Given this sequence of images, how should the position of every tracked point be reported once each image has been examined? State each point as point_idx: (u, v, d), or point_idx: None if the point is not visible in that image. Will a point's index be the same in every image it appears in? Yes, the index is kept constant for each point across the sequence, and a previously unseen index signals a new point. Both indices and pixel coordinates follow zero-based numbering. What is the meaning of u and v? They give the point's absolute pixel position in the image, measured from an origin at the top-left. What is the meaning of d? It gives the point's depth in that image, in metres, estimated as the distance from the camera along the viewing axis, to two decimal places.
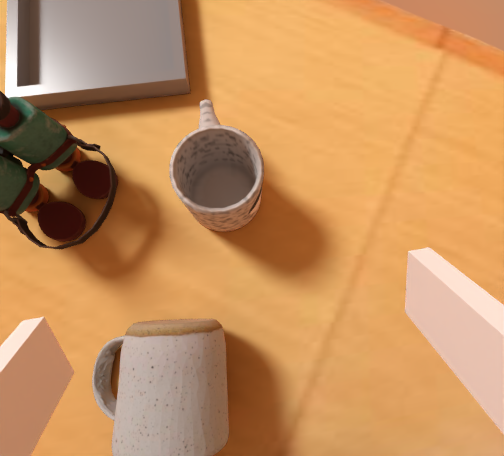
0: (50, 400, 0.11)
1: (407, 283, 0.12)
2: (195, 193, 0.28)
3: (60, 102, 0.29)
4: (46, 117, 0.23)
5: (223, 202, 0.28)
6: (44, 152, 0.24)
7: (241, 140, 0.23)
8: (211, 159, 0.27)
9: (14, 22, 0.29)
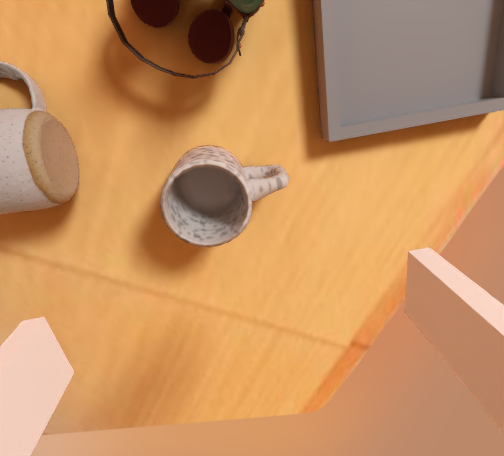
0: (50, 401, 0.11)
1: (407, 283, 0.12)
2: None
3: None
4: (252, 3, 0.18)
5: (199, 184, 0.28)
6: None
7: (239, 223, 0.24)
8: None
9: None
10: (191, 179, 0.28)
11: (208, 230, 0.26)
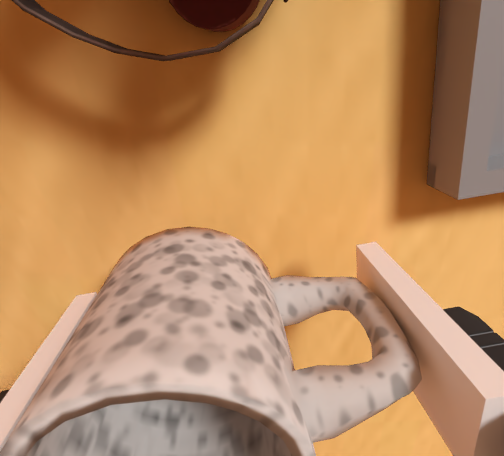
0: None
1: (358, 275, 0.13)
2: None
3: None
4: None
5: None
6: None
7: None
8: None
9: None
10: None
11: None
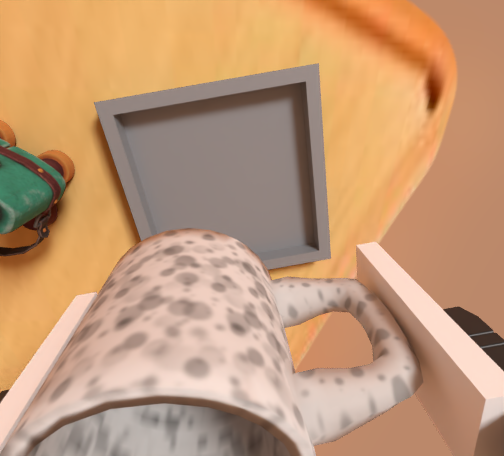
0: None
1: (358, 275, 0.13)
2: None
3: None
4: (20, 225, 0.20)
5: None
6: None
7: None
8: None
9: (205, 94, 0.22)
10: None
11: None
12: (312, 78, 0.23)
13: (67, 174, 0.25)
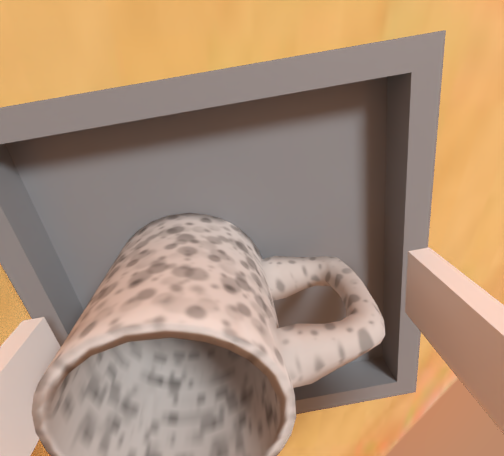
0: None
1: (407, 283, 0.12)
2: None
3: None
4: None
5: None
6: None
7: (259, 439, 0.09)
8: None
9: (182, 103, 0.10)
10: None
11: (184, 421, 0.11)
12: (426, 65, 0.10)
13: None
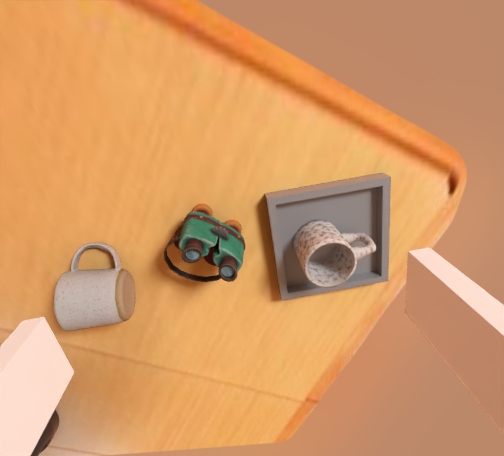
0: (50, 401, 0.11)
1: (407, 283, 0.12)
2: None
3: (269, 223, 0.43)
4: None
5: None
6: None
7: (346, 273, 0.40)
8: None
9: (327, 193, 0.40)
10: None
11: (323, 276, 0.42)
12: (386, 184, 0.41)
13: (240, 234, 0.43)
